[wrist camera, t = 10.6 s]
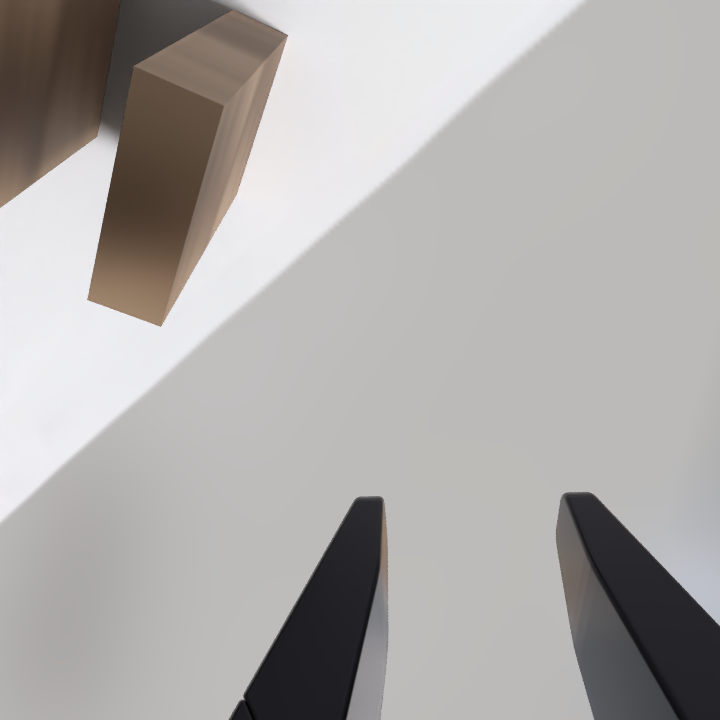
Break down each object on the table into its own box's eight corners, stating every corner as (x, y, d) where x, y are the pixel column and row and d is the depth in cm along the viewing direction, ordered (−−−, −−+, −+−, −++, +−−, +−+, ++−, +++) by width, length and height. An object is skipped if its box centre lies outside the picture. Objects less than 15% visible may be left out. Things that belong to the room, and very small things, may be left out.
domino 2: (232, 9, 17) (133, 66, 11) (288, 35, 18) (223, 106, 11) (188, 174, 20) (87, 299, 13) (236, 194, 20) (161, 326, 14)
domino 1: (66, -69, 16) (-152, -59, 10) (128, -41, 17) (-45, -13, 10) (44, 114, 19) (-140, 218, 13) (97, 136, 19) (-56, 248, 13)
